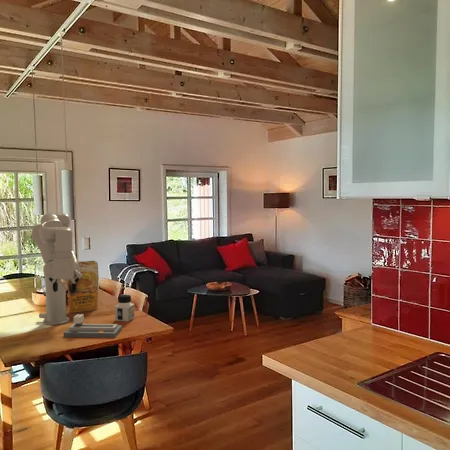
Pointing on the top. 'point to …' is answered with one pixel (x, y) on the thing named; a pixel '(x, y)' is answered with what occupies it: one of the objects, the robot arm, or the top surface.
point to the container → (124, 308)
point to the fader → (78, 320)
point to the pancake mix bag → (84, 288)
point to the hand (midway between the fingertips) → (64, 291)
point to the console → (93, 330)
